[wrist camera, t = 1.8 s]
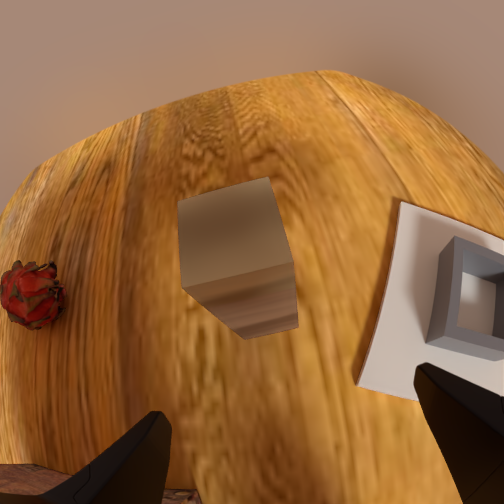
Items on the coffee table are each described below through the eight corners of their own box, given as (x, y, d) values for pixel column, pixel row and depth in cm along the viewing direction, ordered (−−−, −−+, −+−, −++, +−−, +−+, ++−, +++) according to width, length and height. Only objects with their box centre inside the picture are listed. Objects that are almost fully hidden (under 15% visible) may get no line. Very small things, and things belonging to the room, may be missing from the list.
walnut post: (298, 327, 22) (293, 261, 11) (244, 339, 22) (181, 287, 11) (286, 277, 24) (268, 176, 13) (235, 289, 25) (177, 201, 13)
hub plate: (506, 414, 13) (533, 413, 9) (355, 385, 19) (368, 386, 15) (521, 255, 20) (542, 236, 16) (398, 207, 25) (410, 178, 21)
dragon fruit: (33, 306, 30) (93, 305, 30) (5, 342, 22) (66, 350, 23) (11, 254, 26) (70, 244, 27) (-25, 286, 19) (31, 282, 19)
